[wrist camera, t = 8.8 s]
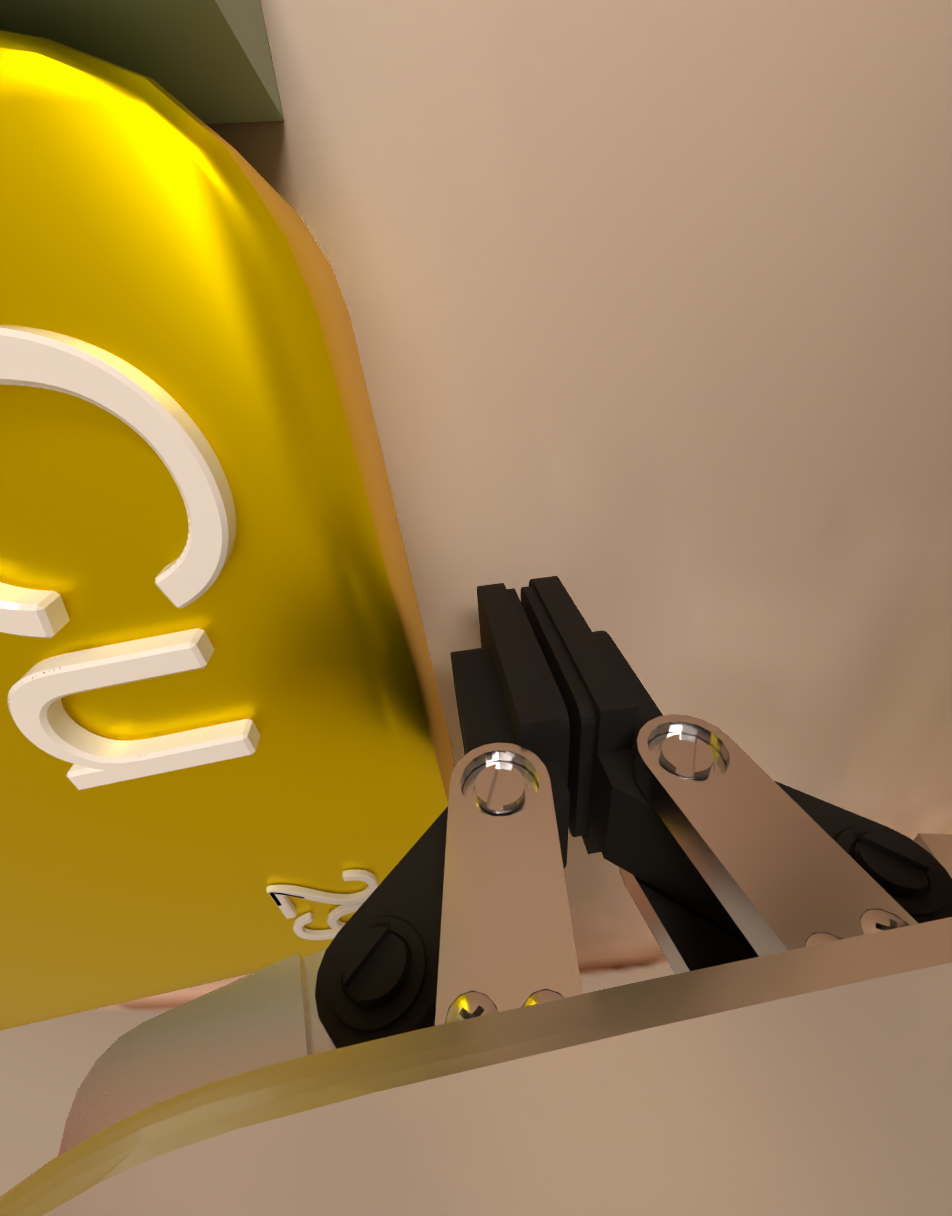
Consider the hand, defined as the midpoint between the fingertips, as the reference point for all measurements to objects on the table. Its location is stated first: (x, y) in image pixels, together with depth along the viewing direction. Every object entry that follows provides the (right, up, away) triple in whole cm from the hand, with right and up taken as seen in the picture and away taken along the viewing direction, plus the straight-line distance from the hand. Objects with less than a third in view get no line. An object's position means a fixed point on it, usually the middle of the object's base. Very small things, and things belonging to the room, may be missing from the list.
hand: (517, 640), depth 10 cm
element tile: (-10, 0, +1) cm, 10 cm away
